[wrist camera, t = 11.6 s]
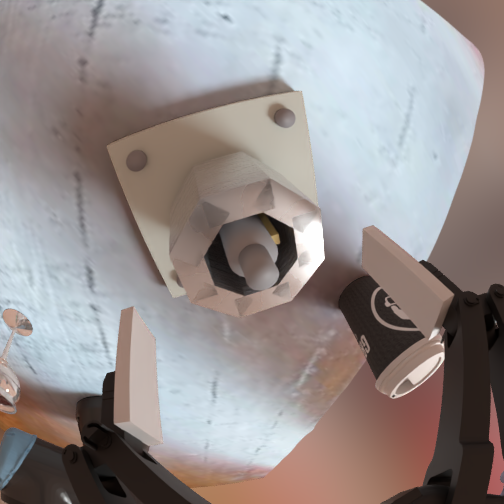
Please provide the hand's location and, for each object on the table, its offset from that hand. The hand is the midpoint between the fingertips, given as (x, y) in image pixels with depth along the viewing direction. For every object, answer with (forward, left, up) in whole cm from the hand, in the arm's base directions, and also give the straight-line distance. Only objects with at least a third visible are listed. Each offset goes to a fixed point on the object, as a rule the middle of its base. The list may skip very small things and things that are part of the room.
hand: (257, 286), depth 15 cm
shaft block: (0, 0, -12) cm, 12 cm away
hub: (0, 0, -9) cm, 9 cm away
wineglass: (-31, -6, -13) cm, 34 cm away
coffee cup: (+14, -19, -13) cm, 27 cm away
